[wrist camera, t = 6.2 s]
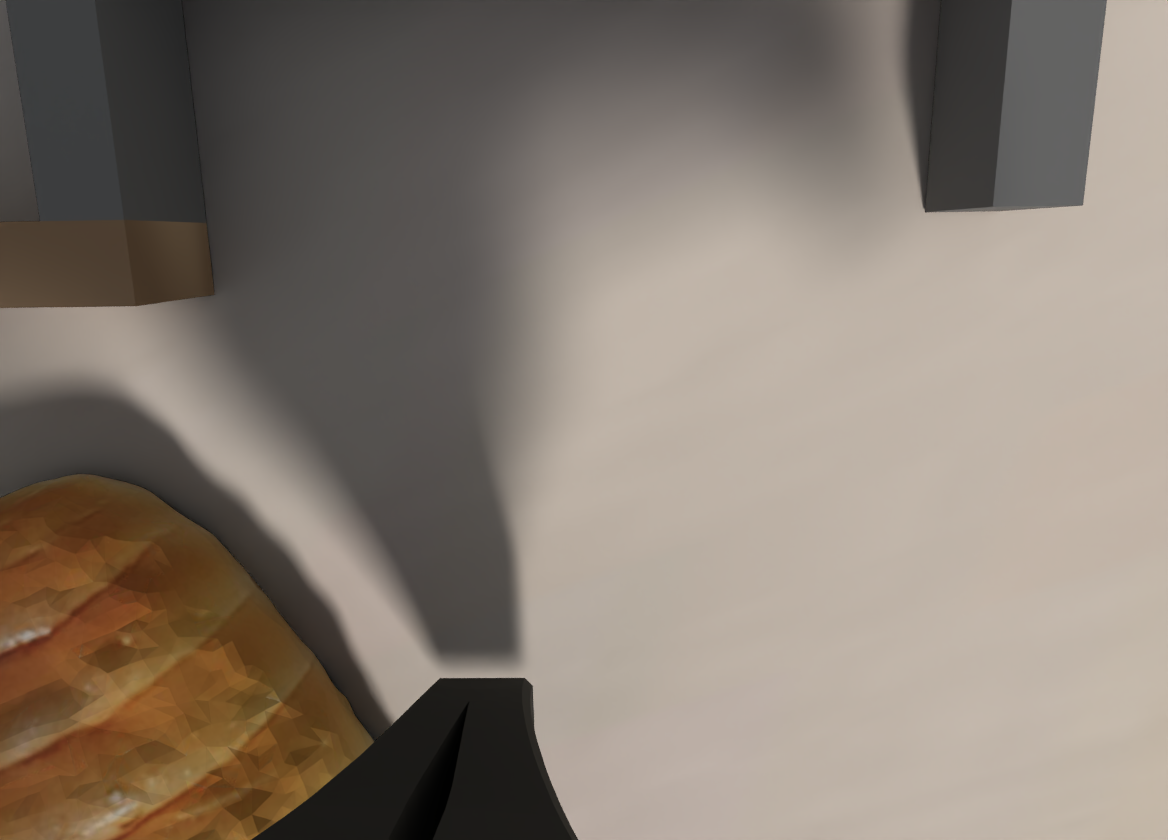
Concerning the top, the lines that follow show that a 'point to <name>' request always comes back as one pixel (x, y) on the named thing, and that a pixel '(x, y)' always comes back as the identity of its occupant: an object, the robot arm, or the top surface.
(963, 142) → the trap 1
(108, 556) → the pastry
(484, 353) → the top surface
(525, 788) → the robot arm
